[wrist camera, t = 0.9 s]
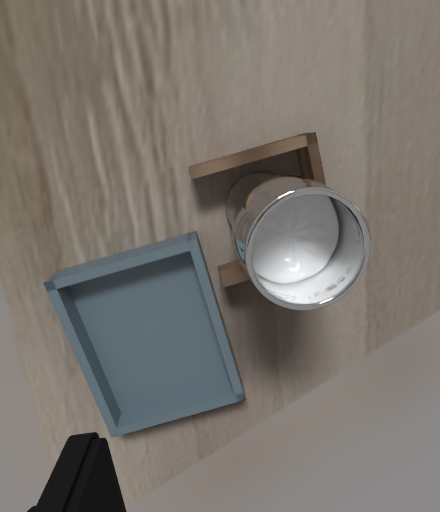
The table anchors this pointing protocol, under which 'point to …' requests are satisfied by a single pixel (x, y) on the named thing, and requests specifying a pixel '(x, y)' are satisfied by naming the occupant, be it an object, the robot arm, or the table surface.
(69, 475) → the robot arm
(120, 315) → the slate tray
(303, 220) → the silver metal cup
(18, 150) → the table surface
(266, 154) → the walnut bay
